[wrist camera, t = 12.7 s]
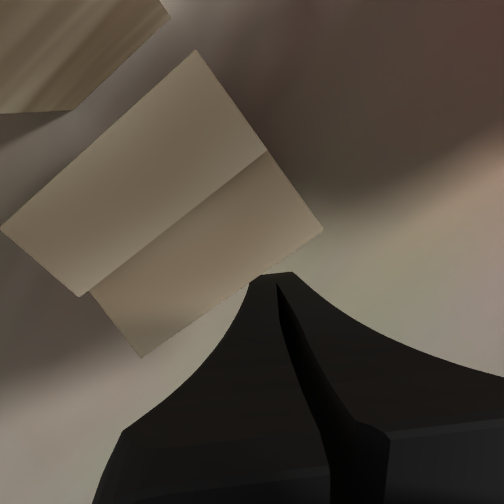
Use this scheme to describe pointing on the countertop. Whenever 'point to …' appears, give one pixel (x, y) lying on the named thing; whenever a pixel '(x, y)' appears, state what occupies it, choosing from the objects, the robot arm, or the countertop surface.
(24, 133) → the countertop surface
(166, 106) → the domino
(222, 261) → the domino
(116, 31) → the domino
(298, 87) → the countertop surface
